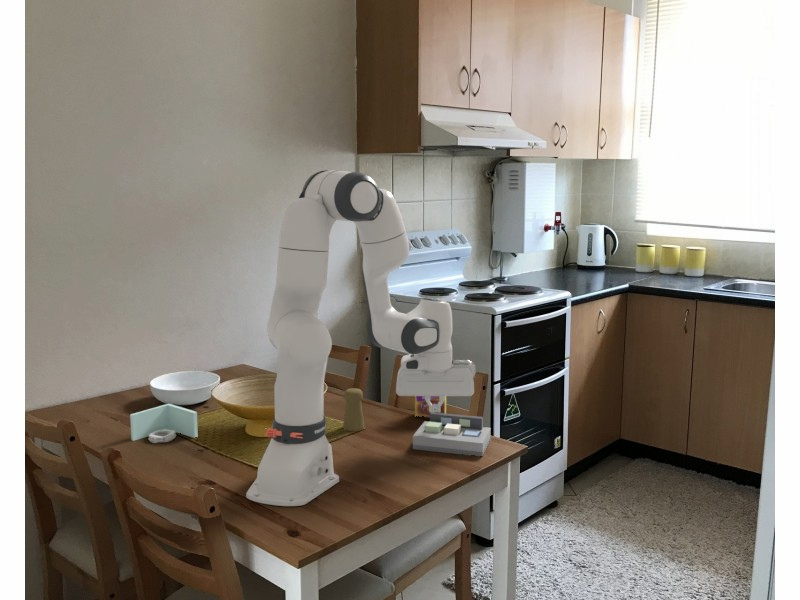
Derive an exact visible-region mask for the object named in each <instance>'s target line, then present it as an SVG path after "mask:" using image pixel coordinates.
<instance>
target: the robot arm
mask: <svg viewBox="0 0 800 600" xmlns="http://www.w3.org/2000/svg"><path fill="white" fill-rule="evenodd" d="M403 219H404V218H403V215H402V213H401V211H400V207H399V205H398V203H397V201H396V199H395V197H394V195H393V193H391V192H390V190H389V191H388V190H387V189H385V188H380V187H379V186H378V184H377V182H376V181H375V180H374V179H373V178H372V177H370V176H369V175H367V174H364V173H362V172H358V171H347V170H343V169H333V170H321V171H318V172H315V173H313V174H312V175H310V177H309V178H307V179H306V181H305V183H304V184H303V187H302V190H301V193H300V194H299V197H298V198H295V199H293V200H291V201H290V202H288V204H286V206H285V209H284V212H283V215H282V220H281V224H280V225H281V226H280V230H279V238H278V248H277V249H278V251H277V266H276V278H275V279H276V280H275V286H274V292H273V296H272V301H271V306H270V311H269V318H268V320H267V327H266V329H267V330H266V332H267V337H268V339H269V341H270V343H271V344H272V346H273V347H274V348H275V349H276V350H277V354H278V365H277V372H276V380H275V383H274V385H273V386H274V387H273V388H274V389H273V390H274V392H273V393H274V395H273V396H274V398H273V399H274V418H273V420H272V425H271V427H268V428H267V430H266V437H267V438H271V439H270V442H269V443H268V446H267V447H266V450H265V451H264V454H263V456H262V458H261V461H260V462H259V464H258V468H257V475H256V476H257V477H256V478H255V480H253V481H254V482H253V483H252V484H251V486H250V487H249V488H248V490H247V491H246V493H245V494H246V495H245V497H246V499H248V500H250V501H253V502H255V503H259V504H263V505H271V506H278V507H279V506H281V507H298V506H305V505H306V504H308V503H309V502H311V501H312V500H314V499H315V498H317V497H318V496H320V495H321V494H324V492H325V491H328V490H329V489H330V488H332V487H333V486H335V485H336V484H338V483H339V482H340V476H339V475H338V474H336V473H335V471H334V469H335V468H334V461H333V458H334V457H333V449H332V444H331V443H330V442H329V440H328V438H327V437H326V432H327V420H326V419H327V418H326V416H325V414H324V413H325V412H324V408H325V407H324V405H325V404H324V402H325V400H324V397H325V396H324V391H325V390H324V386H325V377H326V371H327V365H328V359H329V355H330V353H331V351H332V347H333V345H332V344H333V340H332V337H331V334H330V332H329V330H328V328H327V325H326V324H325V323H324V322H323V321H322V320H320V319H319V317H318V315H319V313H318V312H319V308H320V303H321V299H322V296H323V293H324V291H325V289H326V287H327V283H328V281H327V280H328V269H329V268H328V267H329V255H330V254H329V250H330V234H331V230H332V228H333V226H334V224H335V222H336V221H343V222H344V221H345V222H347V221H349V222H353V223H354V224H355V226H356V229H357V233H358V236H359V241H360V245H361V249H362V258H363V259H362V261H361V275H362V276H361V277H362V278H361V279H362V283H363V290H364V298H365V303H366V308H367V321H366V322H367V323H366V328H367V331H366V332H367V335H368V338H369V340H370V342H371V343H372V344H373V345H374V346H375V347H377V348H381V349H386V350H387V349H388V350H392V351H396V352H400V353H403V354H404V353H405V354H406V355H403V356H402V357H401V358H400V359H401V360H400V367H399V369H398V372H397V376H396V377H397V378H396V385H395V393H396V394H397V396H399V397H415V396H425V400H426V402H427V404H428V405H429V412H441V405H442V404H443V402H444V401H445V396H446V397H471V396H472V395H474V394H475V381H474V376H475V374H476V364H475V363H474V362H472V361H470V360H469V359H462V360H460V359H453V345H452V336H453V312H452V307H451V305H450V302H448V301H447V300H445V299H439V298H434V297H423V298H420V300H419V303H418V305H416V307H414V308H413V309H411V311H409V312H407V313H403V312H400V311H398V310H396V309H395V307H393V305H392V302H391V295H390V289H389V281H388V276H389V273H391V272H393V271H395V270H398V269H399V268H400V267H401V266H403V264H404V263H405V262H406V261H407V258H408V257H409V254H410V243H409V237H408V233H407V230H406V225H405V220H403ZM431 396H439V399H440V401H439V403H438V404H431V402H430V399H431Z"/></svg>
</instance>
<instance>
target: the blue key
mask: <svg viewBox="0 0 800 600" xmlns="http://www.w3.org/2000/svg"><path fill="white" fill-rule="evenodd" d="M463 436H469V437H479V436H480V431H475V430H465V432H464V434H463Z"/></svg>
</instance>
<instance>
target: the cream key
mask: <svg viewBox="0 0 800 600" xmlns="http://www.w3.org/2000/svg"><path fill="white" fill-rule="evenodd" d="M460 433H461V425H458V424H448V423H447V425H446V426H445V427H444V434H450V435H460Z"/></svg>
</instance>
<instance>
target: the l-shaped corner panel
mask: <svg viewBox="0 0 800 600" xmlns="http://www.w3.org/2000/svg"><path fill="white" fill-rule="evenodd" d="M129 419H130V435H131V436H130V437H131V441H133V442H134V441H137V440H141V439H144V438H147V437H148V438H147V439H148V440H149V442H150V443H152V444H159V443H168V442H171V441H173V440H174V439H176V436H177V433H178V434H180V433H181V435H184V436H187V437H189V438H193V439H196V438H195V437H197V438H198V437H199V434H198V433H199V432H198V431H199V430H198V429H199V428H198V412H197V411H194V410H192V409H188V408H185V407H183V406H180V405H173V404H167V403H165V404H162V405H159V406H156V407H152V408H148V409H145V410H142V411H137V412H135V413H131V414H129Z"/></svg>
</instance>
